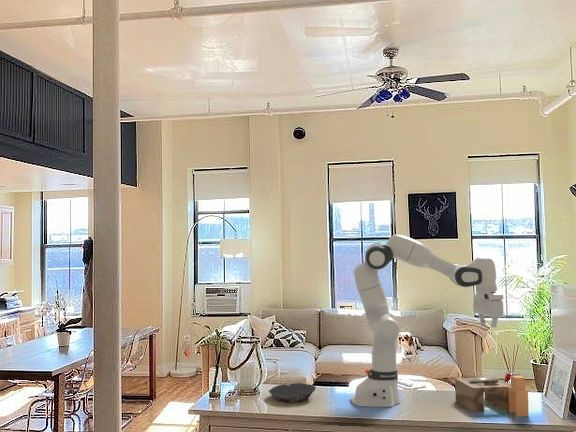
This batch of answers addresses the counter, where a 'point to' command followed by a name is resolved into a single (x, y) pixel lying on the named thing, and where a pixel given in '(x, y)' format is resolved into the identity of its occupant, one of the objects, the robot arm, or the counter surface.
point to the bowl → (292, 392)
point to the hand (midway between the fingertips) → (488, 325)
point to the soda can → (507, 376)
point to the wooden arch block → (482, 392)
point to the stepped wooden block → (518, 397)
